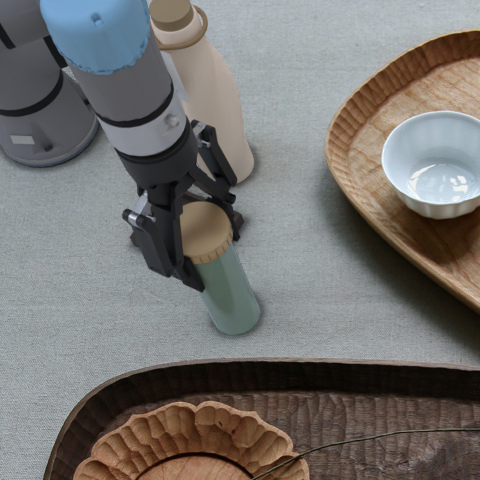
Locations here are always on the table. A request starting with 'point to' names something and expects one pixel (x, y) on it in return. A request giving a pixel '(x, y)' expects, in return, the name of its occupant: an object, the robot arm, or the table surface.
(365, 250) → the table surface
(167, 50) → the water bottle
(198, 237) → the lid
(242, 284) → the thermos flask
